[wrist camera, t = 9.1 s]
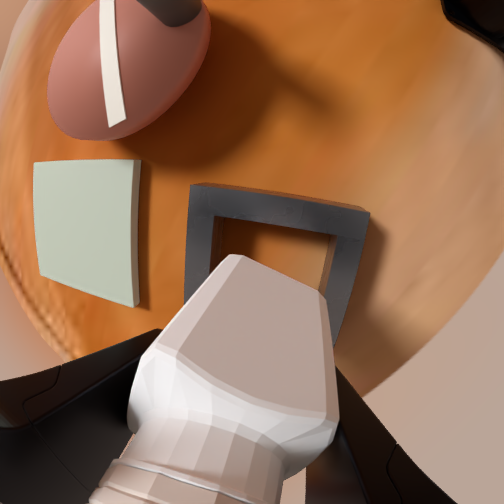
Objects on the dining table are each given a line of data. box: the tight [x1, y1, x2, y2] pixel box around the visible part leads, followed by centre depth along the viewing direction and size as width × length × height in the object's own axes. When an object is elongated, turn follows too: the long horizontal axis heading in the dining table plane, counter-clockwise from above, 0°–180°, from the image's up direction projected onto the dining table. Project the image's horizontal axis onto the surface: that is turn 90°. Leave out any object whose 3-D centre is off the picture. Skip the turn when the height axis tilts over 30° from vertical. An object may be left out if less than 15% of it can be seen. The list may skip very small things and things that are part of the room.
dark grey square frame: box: [184, 183, 370, 348], centre depth 13 cm, size 8×8×2 cm
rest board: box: [33, 159, 141, 308], centre depth 15 cm, size 10×9×1 cm
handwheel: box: [47, 0, 211, 141], centre depth 8 cm, size 10×10×5 cm
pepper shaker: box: [87, 254, 339, 504], centre depth 6 cm, size 4×4×10 cm
